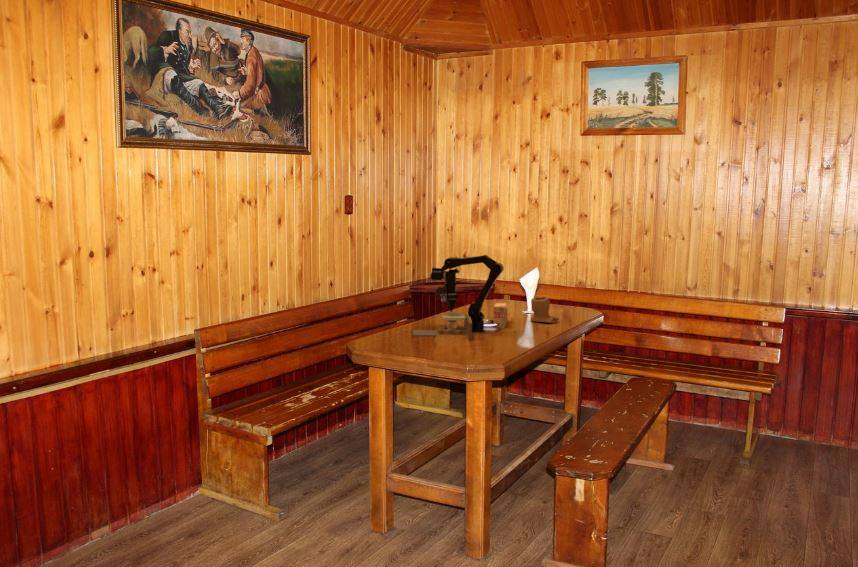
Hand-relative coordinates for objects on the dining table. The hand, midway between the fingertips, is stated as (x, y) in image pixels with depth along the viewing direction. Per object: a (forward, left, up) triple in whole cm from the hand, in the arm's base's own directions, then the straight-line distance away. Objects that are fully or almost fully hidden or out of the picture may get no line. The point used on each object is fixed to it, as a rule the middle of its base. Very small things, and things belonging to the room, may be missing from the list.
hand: (450, 309), depth 395 cm
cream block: (0, +9, -10) cm, 13 cm away
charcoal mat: (+14, +14, -11) cm, 22 cm away
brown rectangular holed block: (-1, +15, -11) cm, 19 cm away
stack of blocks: (-30, -15, -11) cm, 35 cm away
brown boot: (-55, -23, -11) cm, 61 cm away
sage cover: (-1, +9, -3) cm, 9 cm away
